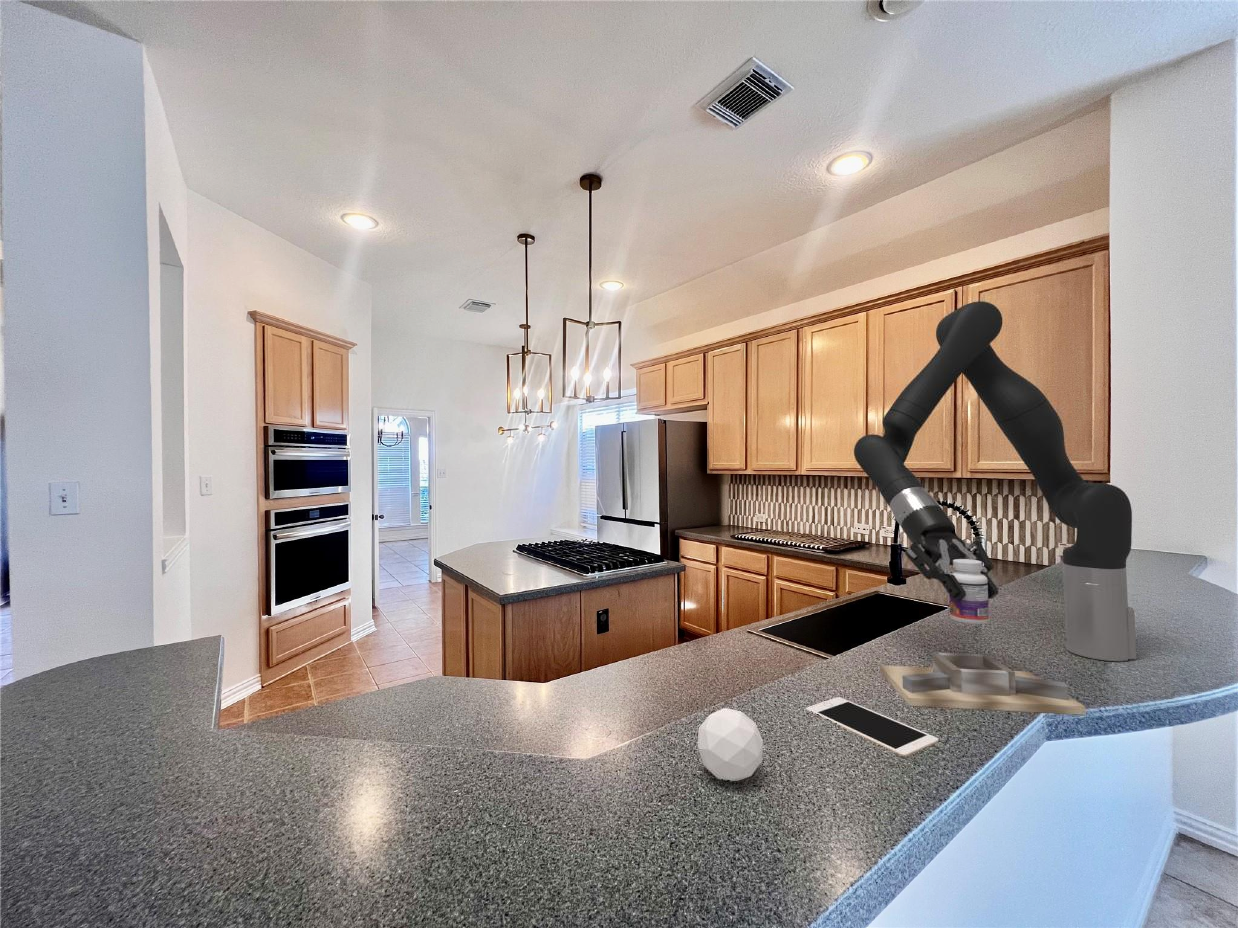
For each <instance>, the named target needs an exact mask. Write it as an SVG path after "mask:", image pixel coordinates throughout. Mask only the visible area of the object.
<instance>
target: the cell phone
mask: <svg viewBox="0 0 1238 928" xmlns="http://www.w3.org/2000/svg"><path fill="white" fill-rule="evenodd" d="M806 709H807V710H806ZM805 710H806V711H808V710H809V711H808V712H810V711H812V712H813V713H812V712H811V713H812V714H814V713H816V714H819V715H820V716H822V717H824V718H826V719H829V720H831V721H832V722H831V721H830V722H831V723H833V722H834V723H833V724H835V723H837V724H838V725H837V724H836V725H837V726H839V725H840V727H841V726H842V727H841V728H844V729H846V731H847V730H848V731H850V732H851V733H854V734H856V735H858V736H860V737H862V738H864V739H866V740H869V741H870V742H872V743H875V744H877V745H879V746H881V747H883V748H885V749H887V750H889V751H892V752H894V753H896V754H898V755H899V756H902V757H908V756H909V755H912V754H914V753H917V752H919V751H921V750H923V749H925V748H927V747H930V746H932V745H935V744H937V743H938V742H939V738H938V737H936V736H934V735H931V734H929V733H927V732H925V731H923V730H919V729H917V728H915V727H912V726H909V724H908V725H907V724H905V723H903V722H900V721H898V720H896V719H893V718H891V717H888V716H886V715H883V714H881V713H879V712H876V711H874V710H872V709H870V708H866V707H864V706H862V705H860V704H857V703H855V702H852V701H850V700H849V699H845V698H843V697H840V696H838V697H834V698H830V699H828V700H825V701H822V702H819V703H816V704H813V705H810V706H807V707H805ZM816 714H815V715H816ZM820 716H819V717H820ZM822 717H821V718H822ZM824 718H823V719H824ZM826 719H825V720H826Z"/></svg>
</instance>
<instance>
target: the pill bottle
mask: <svg viewBox="0 0 1238 928" xmlns="http://www.w3.org/2000/svg"><path fill="white" fill-rule="evenodd" d="M982 565H983V563H982V562H981V561H978V560H971V559H966V558H964V559H955V560H953V565H952V567H953V569H954V571H953V572H951V574H950V575H954V576H955V578H956V579H957V581H958V582H959V583H960V585H961V586H962V588H963V589H964V591H965V592H966V596H965V597H964V598H963V599H962V600H960V601H955V600H954V599H953V598H952V597H951V596H950V595H949V594H948V602H949V603H948V605H949V617H950V618H951V619H952V620H953V621H956V622H960V623H964V624H971V625H972V624H973V625H985V624H987V623H989V620H990V619H989V618H990V616H989V614H990V613H989V612H990V611H989V610H990V609H989V599H988V580H987V578H986V576H984V575H982V574H981V571H982Z"/></svg>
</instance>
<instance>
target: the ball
mask: <svg viewBox="0 0 1238 928" xmlns="http://www.w3.org/2000/svg"><path fill="white" fill-rule="evenodd" d="M697 748H698V751H699V752H698V753H699V754H700V758H701V760H702V765H703V766H704V767H705V768H706V769H707V770H708V771H709V772H710V773H712V775H714V777H715V778H716V779H718V780H722V779H723V780H722V781H727V780H730V781H729V782H732V781H737V782H739V780H740V781H742V780H744V779H747V778H749V777H752V776H753V774H754V773H755V771H756V770H757V768H758V767H759V766H760V765H761V763H762V762H763V752H764V751H763V750H764V741H763V738H762V735H761V733H760V731H759V728H758V726H757V723H756V722H755V721H753V719H752V718H750V717H749V716H748V715H746V714H745V713H744V712H742V711H740V710H735V709H731V708H726V707H723V708H721V709H719V710H717V711H715V712H713V713H711V714H709V715H708V716H707V717H706V718H705V720H704V721H703V722H702V723H701V725H700V726H699V727H698V736H697Z"/></svg>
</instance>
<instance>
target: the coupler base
mask: <svg viewBox="0 0 1238 928" xmlns="http://www.w3.org/2000/svg"><path fill="white" fill-rule="evenodd" d="M931 655H932V656H931V658H932V662H931V663H932V667H928V666H927V667H923V666H921V667H920V666H902V665H901V666H900V665H899V666H898V665H897V666H895V665H880V666H879V668H880V671H879V672H880V674H882V676H883V678H885V680H887V681H888V683H889V684H890V685H891V686H892V687H893V688H894V689H895V691H896V692H897V693H898V694H899V695H900V697H901V698H902V699H903V700H904V701H905V702H906V703H907V705H908V706H910V707H925V708H926V707H929V708H947V709H948V708H949V709H965V710H966V709H969V710H970V709H971V710H986V711H988V710H989V711H1003V712H1004V711H1005V712H1024V713H1025V712H1026V713H1027V712H1028V713H1043V714H1060V715H1061V714H1063V715H1082V716H1084V715H1087V714H1086V711H1087V710H1086V706H1085V705H1083V704H1082V703H1080V702H1078V701H1077V700H1076V699H1074V698H1072V697H1071V696H1069V689H1068V688H1069V687H1068V686H1067V684H1066V682H1064V681H1057V680H1050V679H1043V678H1042V679H1041V678H1040V677H1038V676H1037V675H1035V674H1033V673H1032V672H1031V671H1028V670H1027V671H1023V670H1012V669H1011V668H1009V667H1008V666H1006V665H1004V664H1003V663H1002V662H1000V661H999V660H996V659H995V658H994V657H992V656H990V655H988V654H987V655H985V654H984V655H982V654H979V653H960V652H959V653H958V652H957V653H955V652H938V653H931Z"/></svg>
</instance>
